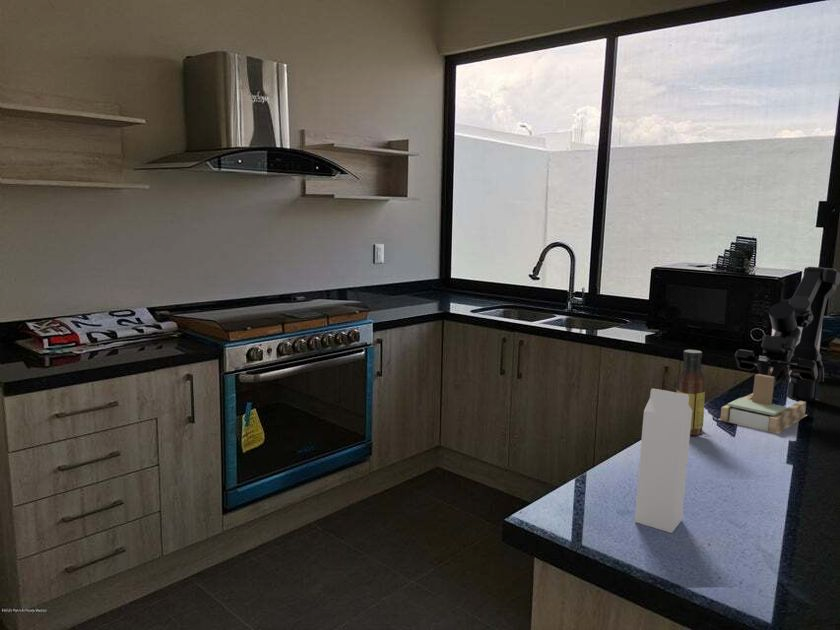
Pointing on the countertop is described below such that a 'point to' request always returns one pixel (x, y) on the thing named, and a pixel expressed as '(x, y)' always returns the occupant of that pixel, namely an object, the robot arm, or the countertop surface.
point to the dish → (750, 418)
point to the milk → (663, 460)
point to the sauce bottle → (693, 388)
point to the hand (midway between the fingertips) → (764, 390)
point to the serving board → (777, 421)
